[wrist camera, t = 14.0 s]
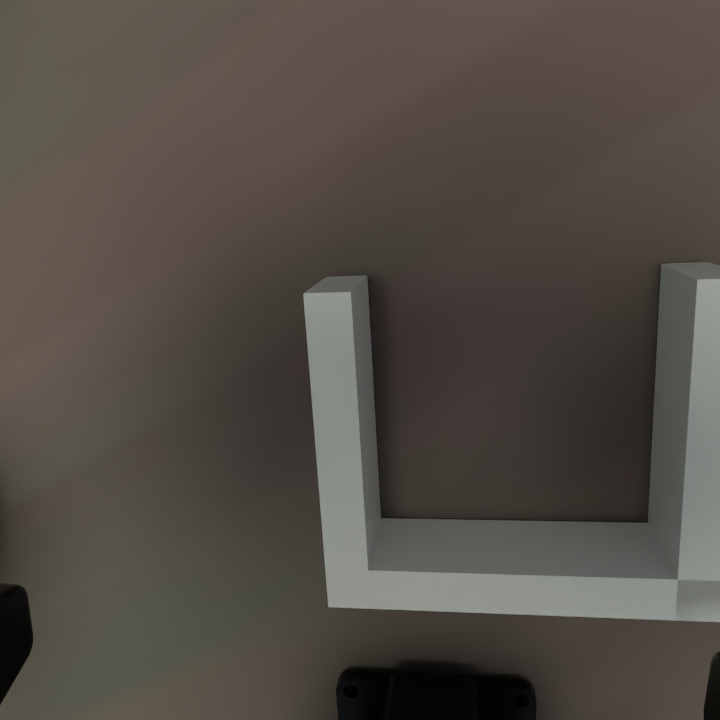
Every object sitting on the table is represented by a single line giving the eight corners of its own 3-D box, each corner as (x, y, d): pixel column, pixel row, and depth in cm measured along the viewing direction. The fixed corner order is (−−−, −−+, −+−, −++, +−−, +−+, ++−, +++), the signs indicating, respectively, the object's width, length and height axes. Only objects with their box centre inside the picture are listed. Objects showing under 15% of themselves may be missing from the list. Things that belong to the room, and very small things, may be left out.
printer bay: (687, 559, 20) (724, 622, 18) (346, 551, 22) (328, 607, 19) (708, 261, 18) (754, 277, 15) (326, 276, 20) (302, 293, 17)
